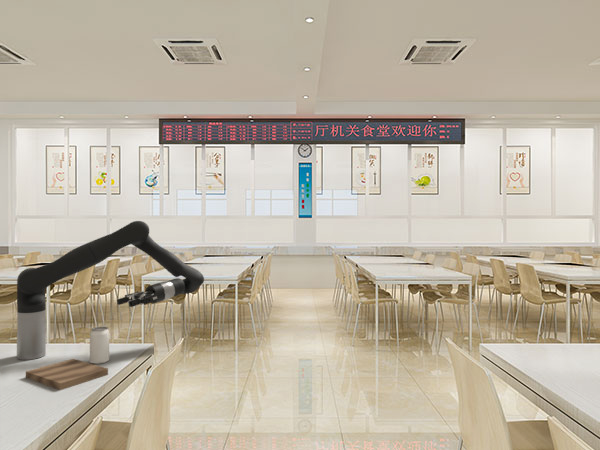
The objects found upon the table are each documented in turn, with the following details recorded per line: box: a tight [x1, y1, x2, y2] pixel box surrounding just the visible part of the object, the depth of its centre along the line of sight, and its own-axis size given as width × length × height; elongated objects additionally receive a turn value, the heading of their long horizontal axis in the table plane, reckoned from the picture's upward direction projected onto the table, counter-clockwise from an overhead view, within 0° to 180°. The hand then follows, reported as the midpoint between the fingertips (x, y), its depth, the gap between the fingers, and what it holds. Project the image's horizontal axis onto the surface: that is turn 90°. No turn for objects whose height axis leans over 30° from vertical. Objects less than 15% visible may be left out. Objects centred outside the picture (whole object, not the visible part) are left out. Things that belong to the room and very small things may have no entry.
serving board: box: [25, 358, 109, 391], centre depth 143 cm, size 20×16×2 cm
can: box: [89, 326, 110, 365], centre depth 159 cm, size 6×6×12 cm
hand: (123, 303), depth 164 cm, fingers open, 8 cm apart
